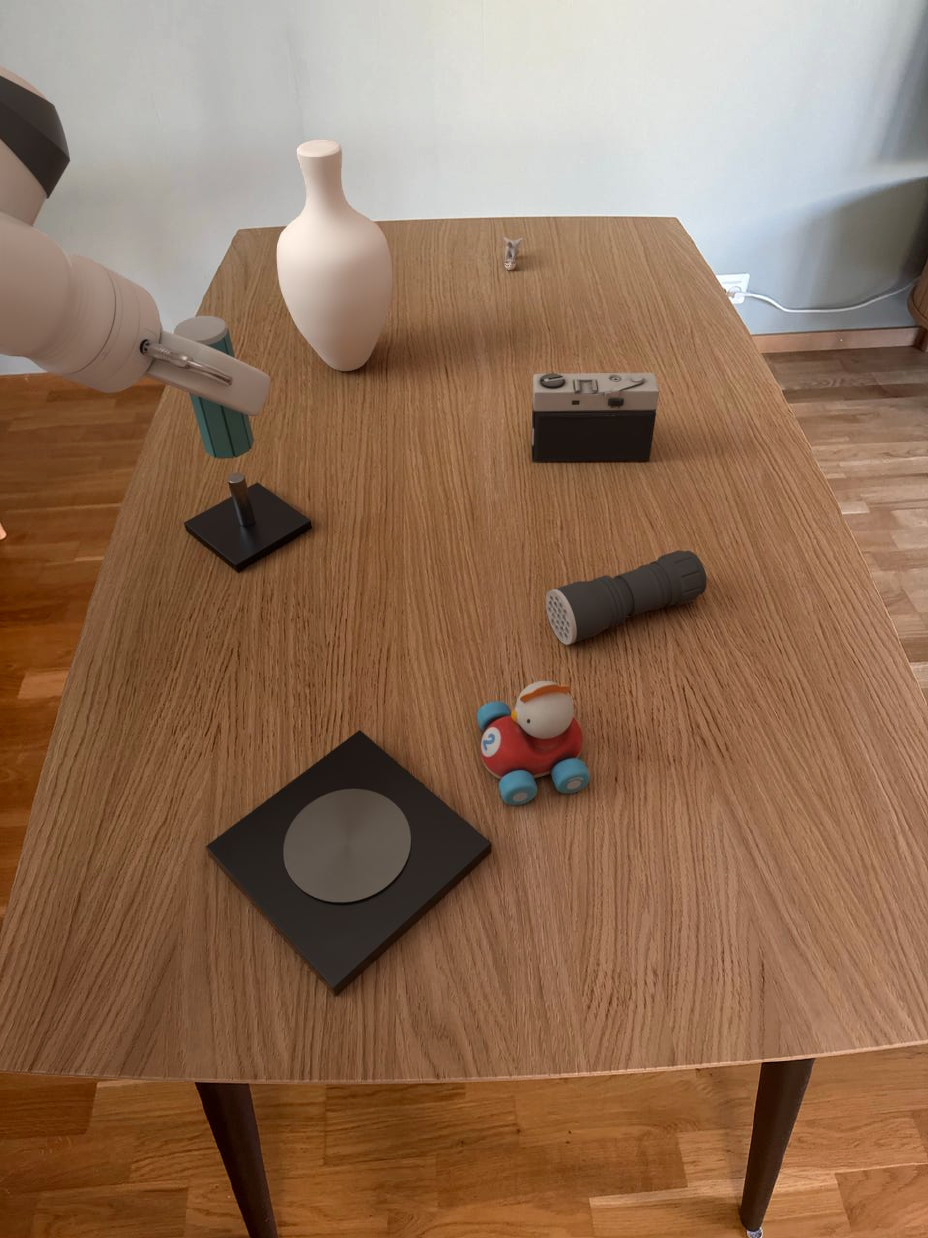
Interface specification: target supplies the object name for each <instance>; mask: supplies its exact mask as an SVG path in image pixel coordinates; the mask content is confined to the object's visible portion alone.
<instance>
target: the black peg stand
mask: <svg viewBox="0 0 928 1238" xmlns="http://www.w3.org/2000/svg"><path fill="white" fill-rule="evenodd" d="M226 480H227V484H228V486H229V492H230V495H231V496H229V497H227V498H226V499H224V500H222V501H221V502H219V503H217V504H215V505H213V506H211V507H209V508H207V509H206V510H205V511H202V512H201V513H199V514H197V515H195V516H194V517H192V518H189V519H188V520H186V521H184V522H183V526H184V528H185V531H186V533H188V534H189V535H191V537H193V538H194V539H195V540H197V541H198V542H199V543H201V545H203V546H204V547H205V548H207V550H209V551H210V552H211V553H212V554H214V555H215V556H216V557H218V558H219V559H220V560H221V561H223V562H224V563H225V564H226V565H227V566H229V567H230V568H231V569H233V571H235V572H236V573H237V574H239V573H240V572H242V571H244V570H246V569H247V568H249V567H250V566H252V565H254V564H256V563H257V562H259V561H260V560H262V559H264V558H265V557H267V556H269V555H271V554H272V553H274V552H276V551H277V550H280V549H281V548H282V547H284V546H285V545H287V544H289V543H290V542H293V541H295V540H296V539H297V538H299V537H302V536H303V535H304V534H306V533H308V532H309V531H311V530H312V529H313V523H312V520H311V519H310V518H309V517H307V516H306V515H304V514H303V513H302V512H300V511H299V510H298V509H296V508H294V507H293V506H291V504H289V503H288V502H287V501H284V500H283V499H282V498H280V496H278V495H277V494H275V493H274V492H272V491H271V490H270V489H267V487H265V486H264V485H262V484H261V483H259V482H255V483H254V484H251V485H250V486H248V485H247V480H246V476H245V474H243V472H239V471H237V472H233V473H232V472H231V473H230V474H229V475H228V476H227V479H226Z"/></svg>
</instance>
